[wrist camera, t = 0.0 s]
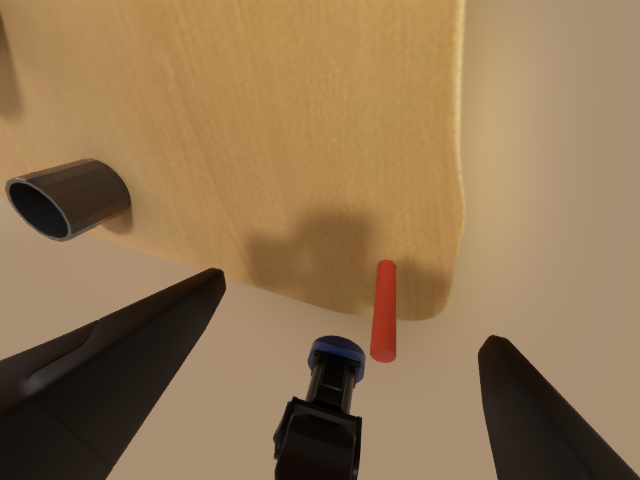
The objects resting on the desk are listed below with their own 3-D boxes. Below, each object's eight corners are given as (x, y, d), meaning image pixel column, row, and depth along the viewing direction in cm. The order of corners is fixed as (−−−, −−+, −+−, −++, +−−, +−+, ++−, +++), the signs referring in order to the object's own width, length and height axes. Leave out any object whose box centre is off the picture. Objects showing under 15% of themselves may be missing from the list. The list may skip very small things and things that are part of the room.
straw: (393, 275, 24) (392, 365, 16) (376, 272, 24) (367, 359, 16) (398, 262, 23) (399, 351, 15) (380, 258, 23) (372, 344, 16)
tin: (137, 217, 28) (82, 247, 23) (93, 207, 29) (30, 234, 24) (118, 163, 25) (48, 185, 20) (68, 154, 26) (-10, 173, 21)
